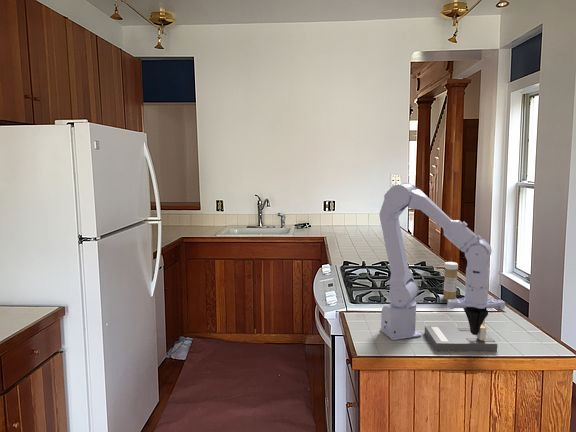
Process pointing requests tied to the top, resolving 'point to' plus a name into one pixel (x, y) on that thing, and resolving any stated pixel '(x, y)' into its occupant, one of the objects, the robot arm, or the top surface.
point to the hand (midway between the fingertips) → (474, 333)
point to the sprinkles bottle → (450, 280)
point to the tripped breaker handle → (482, 333)
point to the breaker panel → (458, 339)
